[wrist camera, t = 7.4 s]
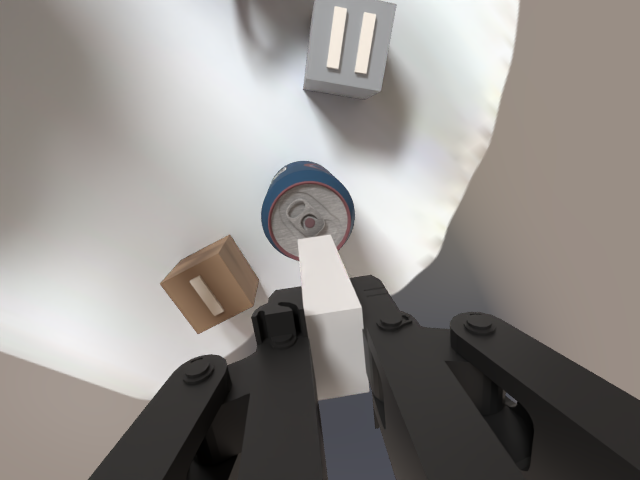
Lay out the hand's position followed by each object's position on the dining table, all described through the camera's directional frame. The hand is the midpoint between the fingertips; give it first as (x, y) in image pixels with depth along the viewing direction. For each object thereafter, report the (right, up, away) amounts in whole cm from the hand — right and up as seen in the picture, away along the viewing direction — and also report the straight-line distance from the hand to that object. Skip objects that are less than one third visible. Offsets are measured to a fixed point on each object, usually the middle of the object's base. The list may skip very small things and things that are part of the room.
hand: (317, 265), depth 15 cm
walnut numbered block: (-11, -2, +21) cm, 23 cm away
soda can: (-2, +6, +19) cm, 20 cm away
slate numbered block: (+2, +18, +16) cm, 24 cm away
